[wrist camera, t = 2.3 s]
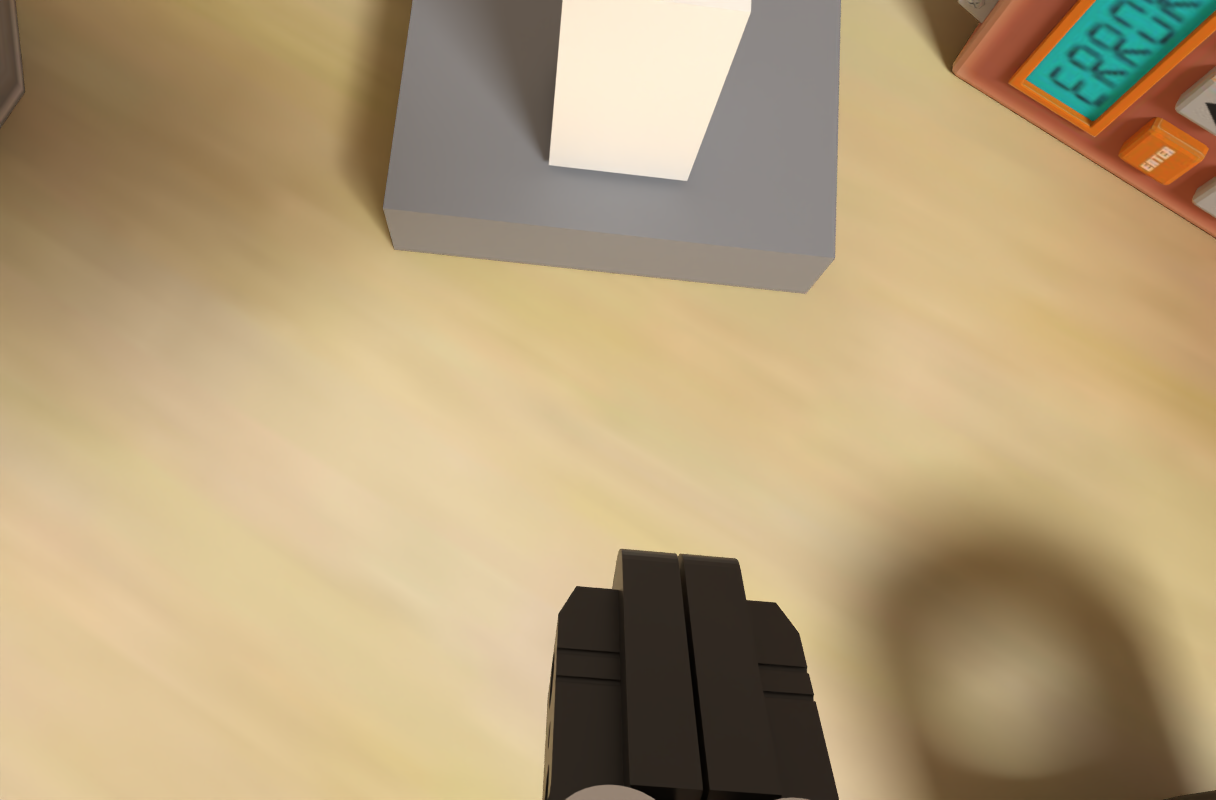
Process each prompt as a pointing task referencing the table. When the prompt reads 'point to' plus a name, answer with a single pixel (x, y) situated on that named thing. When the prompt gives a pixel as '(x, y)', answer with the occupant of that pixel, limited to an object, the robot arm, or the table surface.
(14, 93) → the can
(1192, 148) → the control panel
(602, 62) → the fader tab
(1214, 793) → the muzzle brake
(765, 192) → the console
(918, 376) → the table surface
